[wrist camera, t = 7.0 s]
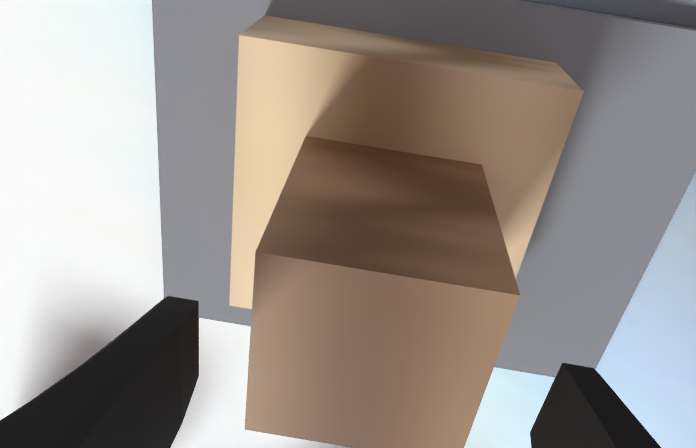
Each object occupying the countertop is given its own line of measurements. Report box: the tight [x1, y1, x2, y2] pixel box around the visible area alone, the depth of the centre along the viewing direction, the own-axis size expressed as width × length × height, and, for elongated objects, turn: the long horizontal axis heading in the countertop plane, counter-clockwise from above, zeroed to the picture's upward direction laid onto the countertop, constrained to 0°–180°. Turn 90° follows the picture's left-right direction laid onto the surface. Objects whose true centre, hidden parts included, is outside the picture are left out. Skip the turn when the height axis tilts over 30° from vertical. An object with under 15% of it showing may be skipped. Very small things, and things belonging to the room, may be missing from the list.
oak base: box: [229, 15, 584, 309], centre depth 18 cm, size 9×9×3 cm
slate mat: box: [152, 0, 696, 377], centre depth 20 cm, size 18×14×1 cm
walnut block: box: [245, 136, 520, 448], centre depth 14 cm, size 5×5×6 cm
